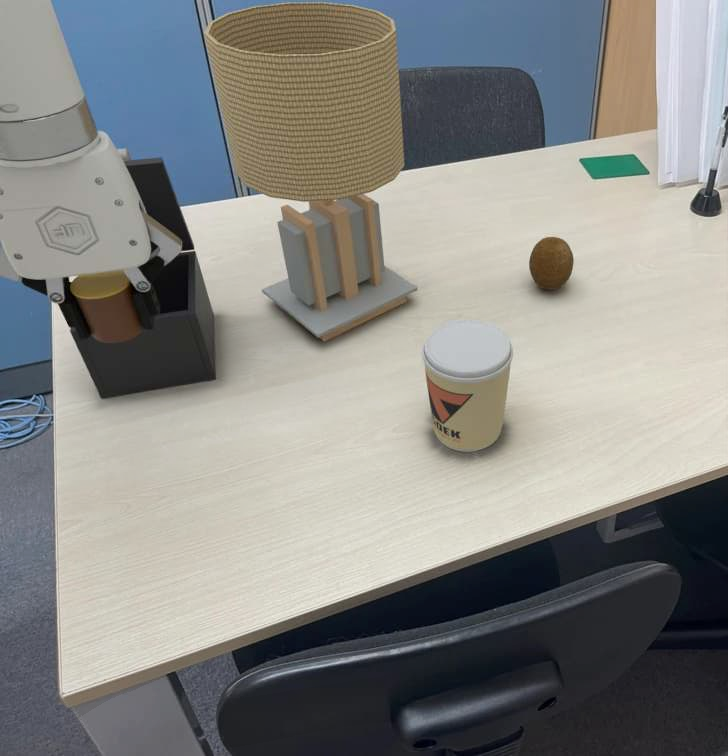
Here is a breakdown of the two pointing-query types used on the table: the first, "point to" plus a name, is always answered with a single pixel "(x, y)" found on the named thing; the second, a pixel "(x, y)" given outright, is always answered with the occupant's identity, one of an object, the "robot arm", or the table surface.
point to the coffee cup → (467, 382)
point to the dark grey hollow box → (160, 339)
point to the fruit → (551, 263)
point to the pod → (108, 306)
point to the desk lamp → (317, 147)
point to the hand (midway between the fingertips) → (118, 323)
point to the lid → (158, 195)
